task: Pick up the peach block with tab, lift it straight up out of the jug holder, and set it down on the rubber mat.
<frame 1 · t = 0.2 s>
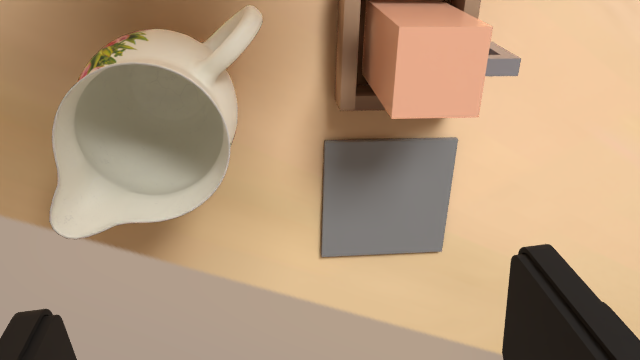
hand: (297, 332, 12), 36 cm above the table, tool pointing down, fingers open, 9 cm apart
jug holder: (399, 37, 46), on the table
rubber mat: (386, 198, 52), on the table
pitcher: (179, 74, 45), on the table
peach block with tab: (399, 37, 46), resting in jug holder
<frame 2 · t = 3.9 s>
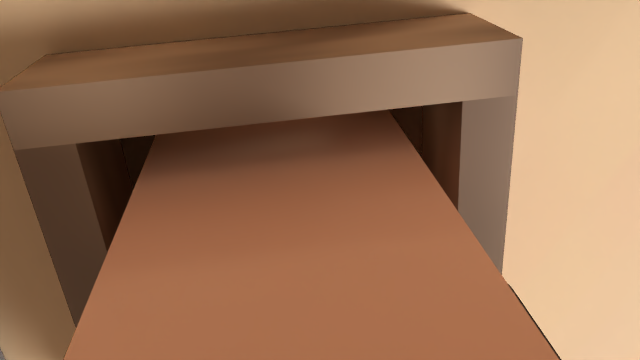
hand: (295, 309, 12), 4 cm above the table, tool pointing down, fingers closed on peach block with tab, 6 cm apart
jug holder: (285, 216, 16), on the table
peach block with tab: (285, 216, 16), resting in jug holder, touching gripper
when the fingers open (6 cm above the table, at t = 12.1 s): peach block with tab drops 1 cm, resting on rubber mat.
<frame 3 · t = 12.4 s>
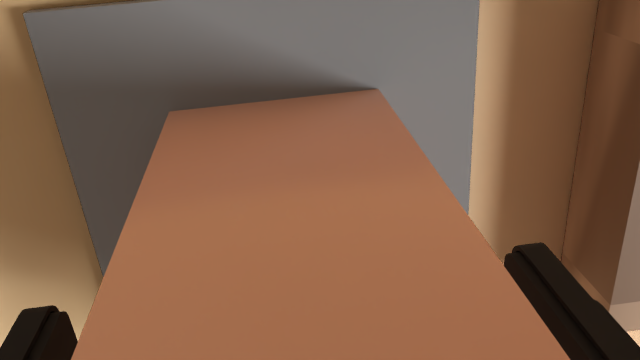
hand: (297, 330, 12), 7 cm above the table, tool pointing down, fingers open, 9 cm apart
rubber mat: (281, 186, 18), on the table
peach block with tab: (285, 192, 17), resting on rubber mat
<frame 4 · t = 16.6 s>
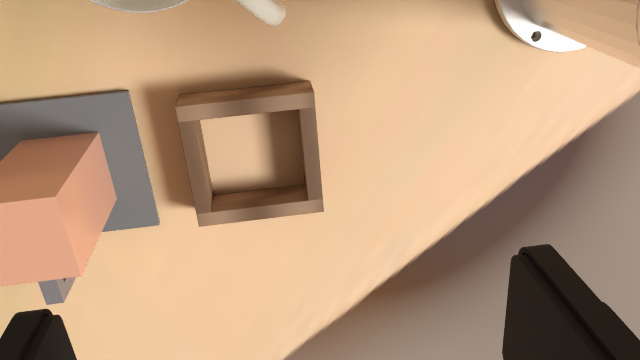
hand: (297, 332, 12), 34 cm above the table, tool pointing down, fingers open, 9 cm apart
jug holder: (253, 147, 46), on the table
rubber mat: (70, 168, 45), on the table
peach block with tab: (70, 170, 45), resting on rubber mat
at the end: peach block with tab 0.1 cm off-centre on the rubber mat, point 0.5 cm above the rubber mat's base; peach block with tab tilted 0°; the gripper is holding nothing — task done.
